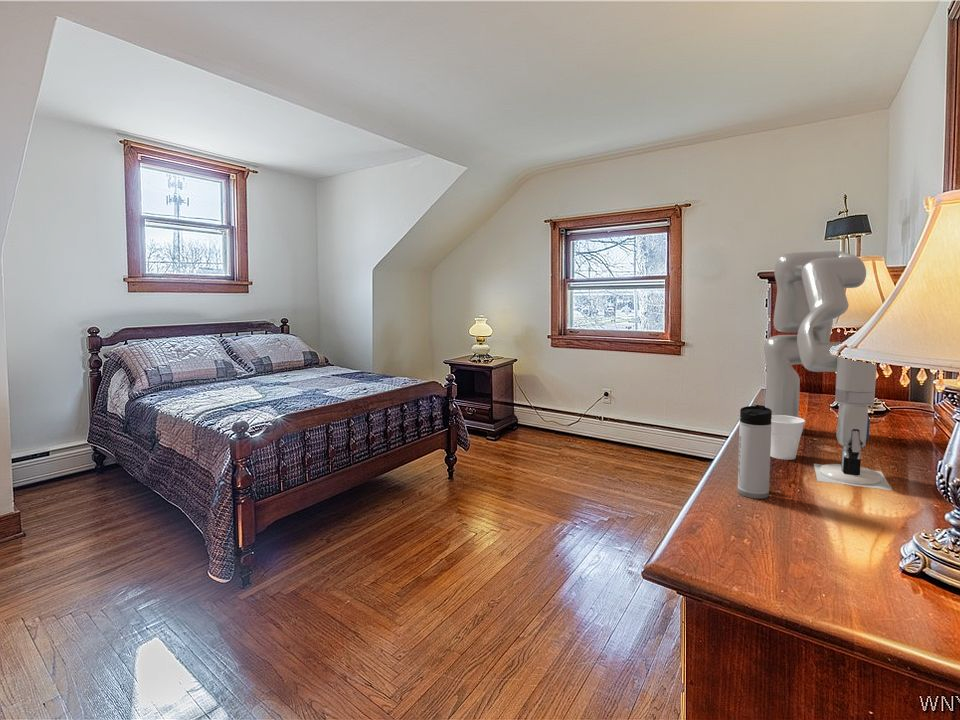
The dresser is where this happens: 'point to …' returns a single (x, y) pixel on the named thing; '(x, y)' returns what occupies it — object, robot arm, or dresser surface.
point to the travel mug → (754, 451)
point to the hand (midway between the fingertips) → (850, 470)
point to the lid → (837, 474)
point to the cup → (785, 436)
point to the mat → (820, 477)
